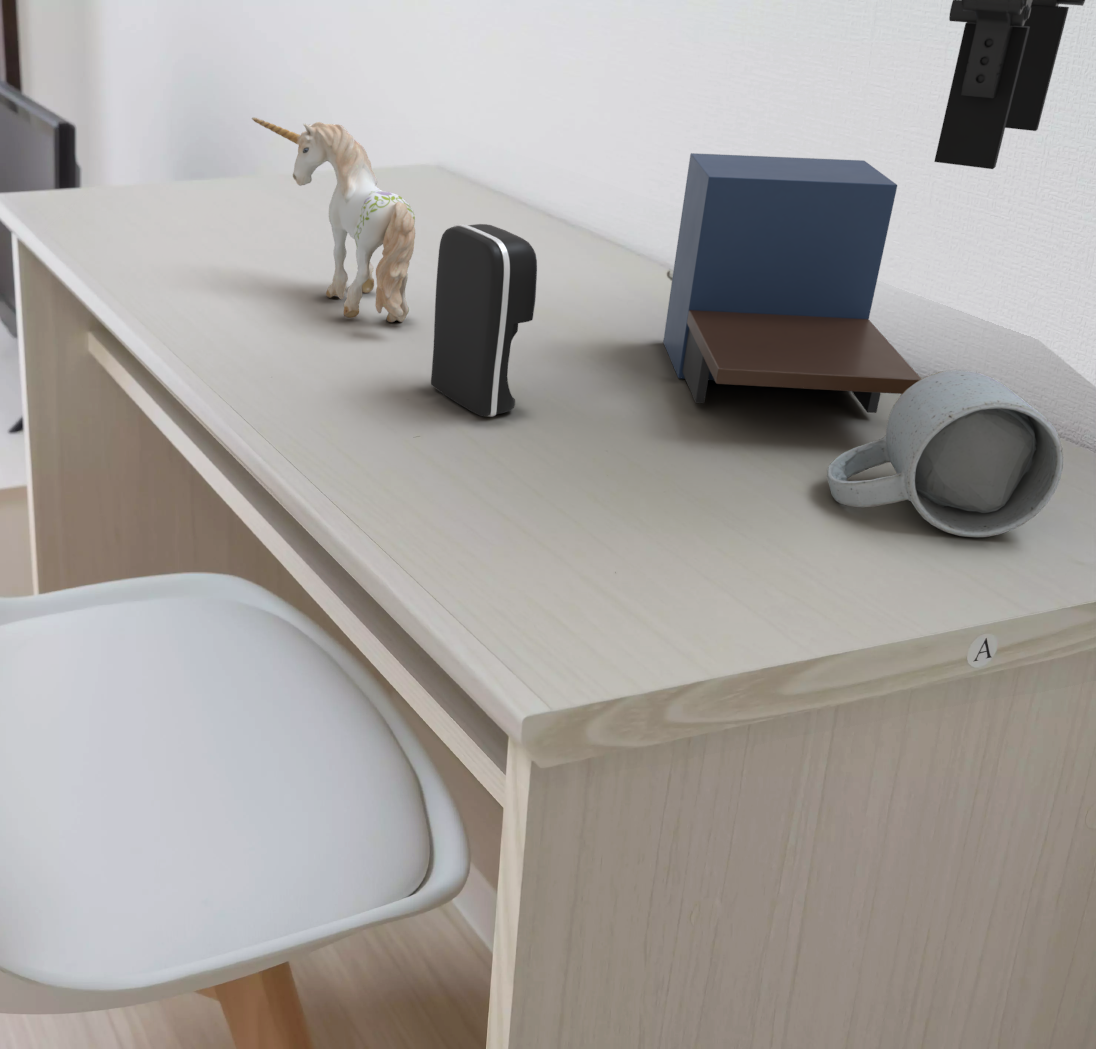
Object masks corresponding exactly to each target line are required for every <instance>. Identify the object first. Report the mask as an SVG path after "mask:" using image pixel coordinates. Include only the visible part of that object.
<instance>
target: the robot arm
mask: <svg viewBox="0 0 1096 1049" xmlns="http://www.w3.org/2000/svg"><path fill="white" fill-rule="evenodd" d="M1085 3H1086V0H952V2H951V5H950V9H949V18H948V19H949V22H957V23H965V24H964V28H963V33H962V37H961V42H960V46H959V49H958V50H959V51H958V54H957V59H956V64H955V68H954V71H953V72H954V73H953V76H952V81H951V86H950V91H949V94H948V99H947V104H946V108H945V111H944V112H945V113H944V117H943V121H942V126H941V130H940V135H939V139H938V143H937V148H936V153H935V157H934V162H933V163H939V164H940V163H941V164H946V165H947V164H949V165H956V166H964V167H970V168H971V167H972V168H979V169H980V168H981V169H986V170H987V169H988V170H994V169H995V168H996V167H997V163H998V158H999V154H1000V151H1001V147H1002V143H1003V138H1004V134H1005V131H1006V129H1014V130H1021V131H1022V130H1023V131H1032V132H1037V131H1038V130H1039V127H1040V122H1041V119H1042V114H1043V111H1044V107H1045V102H1046V99H1047V94H1048V91H1049V87H1050V83H1051V79H1052V75H1053V72H1054V68H1055V64H1056V60H1057V56H1058V52H1059V48H1060V44H1061V40H1062V37H1063V33H1064V29H1065V24H1066V21H1067V17H1068V14H1069V9H1070V7H1069V6H1082V7H1084V5H1085ZM1061 5H1064V6H1061ZM1065 5H1066V6H1065Z"/></svg>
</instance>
